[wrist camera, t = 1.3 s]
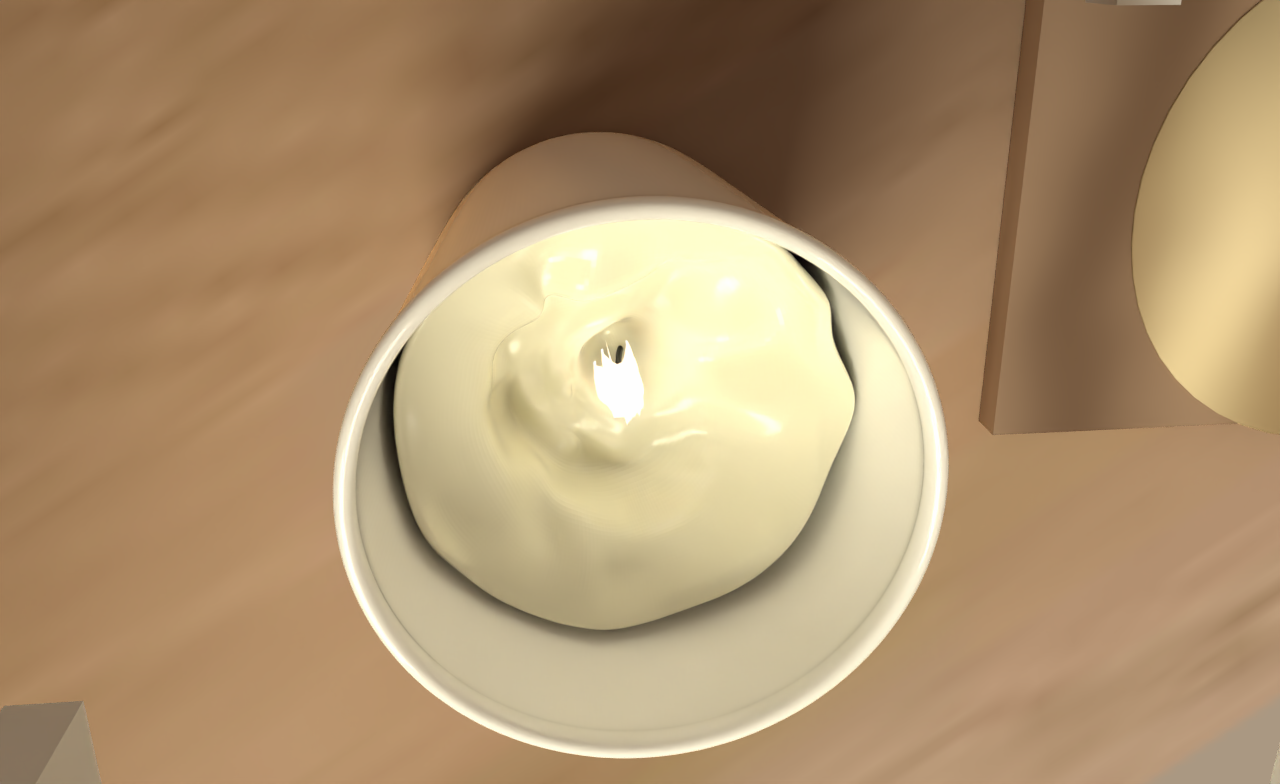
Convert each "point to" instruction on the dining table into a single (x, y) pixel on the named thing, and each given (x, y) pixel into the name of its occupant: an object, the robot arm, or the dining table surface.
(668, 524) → the candle holder
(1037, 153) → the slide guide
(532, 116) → the dining table surface
